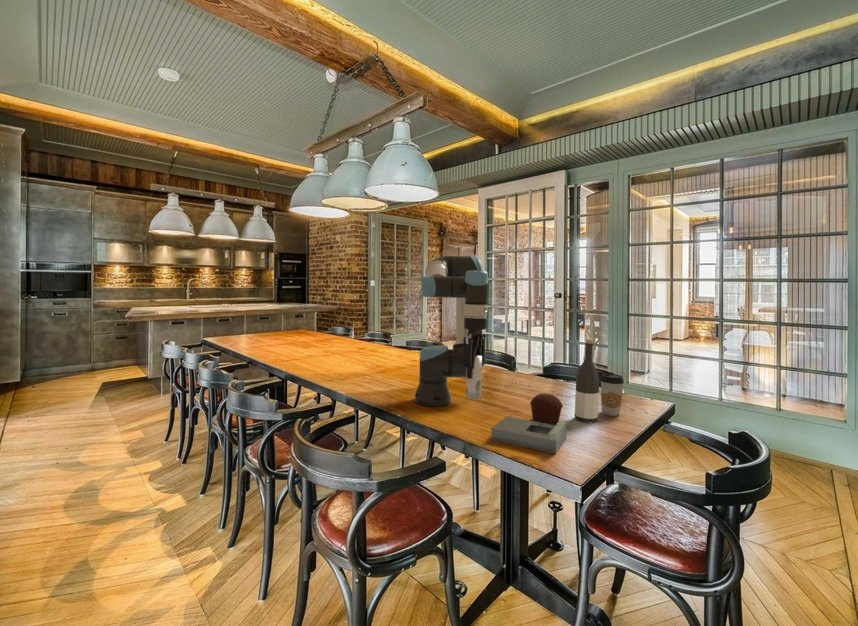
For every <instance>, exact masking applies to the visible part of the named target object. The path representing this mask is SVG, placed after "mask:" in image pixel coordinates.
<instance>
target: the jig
mask: <svg viewBox="0 0 858 626" xmlns="http://www.w3.org/2000/svg"><path fill="white" fill-rule="evenodd" d="M567 424H568V421H567V420H563V419H561V420H560V419H559V422H558V424H557V425H551V424H546V423H540V422H535V421H533V420H529V419H523V418H518V417H511V416H505V417H504V418H502V419H501V420H499V422H497V423H496V424H495V425H494V426H493V427H491V430H490V431H491V433H490V435H491V436H490V440H492V441H491V442H496V441H497V443H500V442H502V444H505V443H507V444H506V445H510V444H512V445H511V446H514V445H517V446H516V447H519V446H522V447H521V448H523V447H527V448H526V449H528V448H531V449H530V450H533V449H535V450H534V451H537V450H540V451H539V452H542V451H545V452H544V453H547V452H548V454H551V453H553V454H552V455H557V454H558V453H559V451H560V449H561V448H560V447H562V446H563V445H564V443H565V442H566V440H567V426H568V425H567ZM558 450H559V451H558ZM556 453H557V454H556Z"/></svg>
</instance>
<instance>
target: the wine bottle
mask: <svg viewBox="0 0 858 626" xmlns="http://www.w3.org/2000/svg"><path fill="white" fill-rule="evenodd" d="M584 344H585V349H584V350H585V352H584V355H585V356H584V360H583V362H582V363H581V364H580V367H579V368H578V370H577V374H576V377H575V397H574V400H575V401H574V419H575V420H576V421H578V422H581V423H586V424H587V423H588V424H590V423H591V424H593V423H594V424H595V423H596V422H598V419H599V418H598V417H599V398H600V397H599V396H600V377H599V373H598V370H597V367H596V365H595V363H594V362H593V345H594V343H593V339H592V338H586V340H585V343H584Z"/></svg>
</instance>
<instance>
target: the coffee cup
mask: <svg viewBox="0 0 858 626" xmlns="http://www.w3.org/2000/svg"><path fill="white" fill-rule="evenodd" d="M599 382H600V401H601V402H600V403H601V404H600V405H601V412H602V414H603V415H604V416H609V415H610V417H617V415H618V416H620V413H621V412H620V411H621V406H622V405H621V404H622V399H623V387H624V383H625V382H624V377H623V375H622V374H621V375H620V374H616V373H603V374H601V377H600V379H599Z"/></svg>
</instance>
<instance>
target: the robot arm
mask: <svg viewBox="0 0 858 626" xmlns="http://www.w3.org/2000/svg"><path fill="white" fill-rule="evenodd" d="M489 281H490V280H489V273H488V272H487V271H486V270H483V264H482V261H481V259H480V258H479V257H477V256H470V255H467V256H466V255H465V256H464V255H443V256H438V257H436V258H433V259H432V260H431V261H429V262H428V263H427V265H426V267H425V276H423V277H422V278H421V295H422V296H423V298H453V299H455V301H456V302H455V303H456V304H455V305H456V306H455V308H456V309H455V316H456V317H455V322H456V323H455V325H456V326H455V331H456V333H455V337H456V339H455V342H454V343H453V344H452V348H451V349H449V346H448V345H444V344H443V345H442V344H441V345H439V344H438V345H429V346H426V347H423V348H422V349H421V350H420V352H419V359H418V361H419V371H418V372H419V376H418V385H417V389H416V390H415V394H414V402H415V404H417V405H419V406H425V407H443V406H448V405H449V404H451V403H452V396H451V394H450V393H451V392H450V389H449V385H448V378H463V379H464V378H466V379H465V381H466V382H465V383H466V384H465V388H466V387H467V388H475V369H474V362H475V355H481V356H482V370H483V368H484V366H485V362H486V360H485V358H486V338H487V335H486V333H483V330H486V329H487V328H488V320H487V319H488V318H486V317H487V316H488V311H489V307H488V294H489V293H488V291H489Z"/></svg>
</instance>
